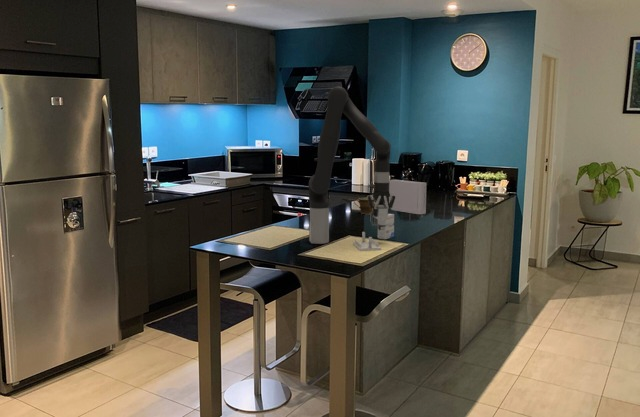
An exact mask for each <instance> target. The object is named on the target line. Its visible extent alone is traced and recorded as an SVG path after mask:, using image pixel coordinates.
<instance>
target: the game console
mask: <svg viewBox="0 0 640 417" xmlns="http://www.w3.org/2000/svg"><path fill="white" fill-rule="evenodd" d="M389 193H390V195H394V196H395V200H394V203H393V207H392V208H390V210H391V211H397V212H403V213H409V214H414V215H415V214H416V215H425V214H426V212H427V211H426V210H427V182H421V181H411V180H401V179H390V184H389ZM390 200H391V199H390V197H389V198H388V204H389V203H390Z"/></svg>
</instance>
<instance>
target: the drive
mask: <svg viewBox="0 0 640 417" xmlns="http://www.w3.org/2000/svg"><path fill="white" fill-rule="evenodd" d="M388 214H389V209H388V207H386V206H385V205H384V204H378V206H377V217H374V216H373V218H374V219H376V220H377V221H378V220H388Z"/></svg>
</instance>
